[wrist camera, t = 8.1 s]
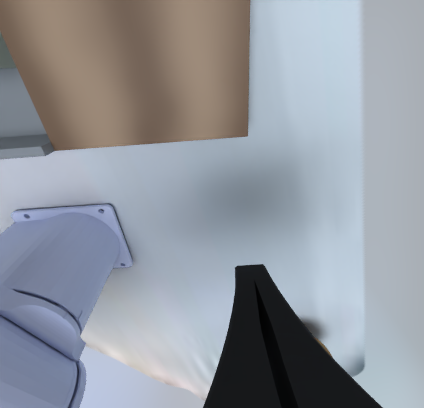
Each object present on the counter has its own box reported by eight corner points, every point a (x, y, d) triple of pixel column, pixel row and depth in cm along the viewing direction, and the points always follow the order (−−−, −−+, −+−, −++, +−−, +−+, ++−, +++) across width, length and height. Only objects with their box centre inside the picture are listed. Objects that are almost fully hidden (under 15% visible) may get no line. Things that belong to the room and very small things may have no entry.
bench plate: (76, 138, 17) (54, 150, 15) (-44, -171, 10) (-130, -253, 7) (241, 126, 17) (247, 136, 15) (242, -201, 10) (255, -297, 7)
